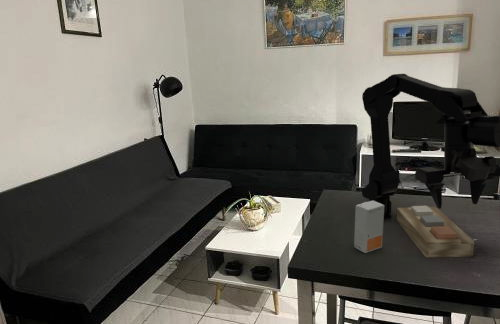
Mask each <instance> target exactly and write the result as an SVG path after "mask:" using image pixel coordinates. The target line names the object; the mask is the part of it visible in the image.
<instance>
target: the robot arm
mask: <svg viewBox="0 0 500 324" xmlns="http://www.w3.org/2000/svg"><path fill="white" fill-rule="evenodd" d="M401 93H403V94H406V95H409V96H412V97H414V98H417V99H419V100H422V101H425V102H428V103H429V104H430V105H432V107H434V109H435V110H437V111H438V112H440V113H442V116H441V117H440V118H439V119H438V120H437V121H436V122H435V124H436V125H439V126H441V125H444V132H443V133H444V139H443V141H444V142H443V143H444V144H443V145H444V146H441V147H440V150H441V151H440V152H443V153H444V154H443V155H444V156H443V157H444V158H443V162H442V163H440V168H441V169H439V168H435V167H433V166H426V167H418V168H417V169H416V171H415V173H414V179H415V180H417V181H419V183H421V184H425V186H426V188H427V190H428V191H429V193H430V196H431V197H432V199H433V201H434V204H435V207H436V208H437V209H438V210H441V209H442V205H443V201H442V200H443V197H442V195H443V193H442V192H443V191H442V190H443V188H444V186H445V185H446V184H445V183H443V181H444V179H445V178H450V177H452V178H453V177H459V176H462V177H463V178H464V179H465V180H466V181H469V186H470V187H469V188H470V198H471V203H472V204H473V205H477V204H478V203H479V201H480V198H481V196H482V193H483V192H484V189H485V188H486V186H487V184H488V183H490V182H492V181H494V180H496V179H497V177H500V164H499V163H497V158H496V157H495V156H493V155H490V156H488V155H487V156H484V157H482V156H481V157H478V156H477V151H476V148H474V147H473V146H478V147H479V146H480V147H493V148H500V115H488V114H487V112H486V110H485V109H484V108H483V107H482V105H481V103H480V102H479V101H478V97H477V96H476V93H475V91H473V90H471V89H466V88H460V87H459V88H458V87H444V86H439V85H437V84H433V83H431V82H428V81H425V80H422V79H420V78H419V79H418V78H415V77H413V76H409V75H408V74H406V73H395V74H391V75H389V76H388V77H387V78H386V79H383V80H381V81H380V82H378V83H375V84H374V85H371V86H369V87H366V88H365V90H364V91H363V92H362V97H361V98H362V103H363V108H364V111H365V112H366V114H367V115H368V117H369V119H370V129H371V130H370V132H371V145H372V160H373V161H372V162H373V166H372V168H371V171H370V172H369V174H368V184H366V185H365V186H364V187H363V188H362V189H361V195H362V197H363V198H365V199H366V202H369V201H376V202H378V203H380V204H383V205H384V219H391V218H392V216H391V214H392V201H391V197H393V196H395V194H396V191H397V190H398V189H399V188H400V184H401V183H402V182H401V180H400V174H401V173H400V170H399V169H395V168H394V166H393V164H392V156H391V154H392V153H391V143H390V141H391V140H390V139H391V138H390V126H389V115H390V113H391V110H392V108H393V105H394V98H395V97H398V96H399V95H400V94H401ZM472 145H473V146H472Z"/></svg>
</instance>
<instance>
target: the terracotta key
mask: <svg viewBox="0 0 500 324" xmlns="http://www.w3.org/2000/svg"><path fill="white" fill-rule="evenodd" d="M431 233H432V234H433V235H434V236H435V237H436V238H437V239H456V238H457V233H455V232H454V231H453V230H452V229H451V228H450V227H449V226H435V227H431Z"/></svg>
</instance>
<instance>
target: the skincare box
mask: <svg viewBox="0 0 500 324" xmlns="http://www.w3.org/2000/svg"><path fill="white" fill-rule="evenodd" d="M354 211H355V214H354V216H355V217H354V238H353V239H354V240H353V241H354V242H353V244H354V245H353V247H354V248H355V249H357V250H358V251H360V252H363V253H364V254H368V253H370V252H373V251H376V250H379V249H381V248H383V240H384V239H383V236H384V219H385V218H384V205H383V204H380V203H378V202H376V201H369V202H367V201H364V202H362V203H359V204H356V205H355V210H354Z"/></svg>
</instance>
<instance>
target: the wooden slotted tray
mask: <svg viewBox="0 0 500 324" xmlns="http://www.w3.org/2000/svg"><path fill="white" fill-rule="evenodd" d="M428 207H429V208H430V209H431V210H432V211H433V215H437V216H438V217H439V218H440V219H442V220H443V221H444V226H449V227H450V228H451V229H452V230H453V231H454V232H455V233H457V238H456V239H437V238H436V237H435V236H434V235H433V234H432V233H431V227H425V226H424V225H423V223H422V222H421V221H420V216H415V215H414V214H413V213H412V212H411V207H397V208H396V209H397V210H396V212H397V213H396V222H398V224H399V225H400V226H401V228H403V230H404V231H405V232H406V234H407V235H408V236H409V238H410V239H411V240H412V241H413V242H414V245H416V247H417V248H418V249H419V251H420V252H421V253H422V254H423V255H424V257H425V258H456V257H457V258H458V257H459V258H461V257H463V258H464V257H467V258H468V257H473V255H474V248H475V247H474V246H475V245H474V244H475V240H473V239H472V238H471V237H470V236H469V235H468V234H467V233H466V232H464V230H462V229H461V228H460V227H458V226H457V225H456V224H455V223H454V222H453V221H452V220H451V219H450V218H449V217H447V216H446V214H444V213H443V212H442V211H441V210H440V209H439V208H437V206H428Z"/></svg>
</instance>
